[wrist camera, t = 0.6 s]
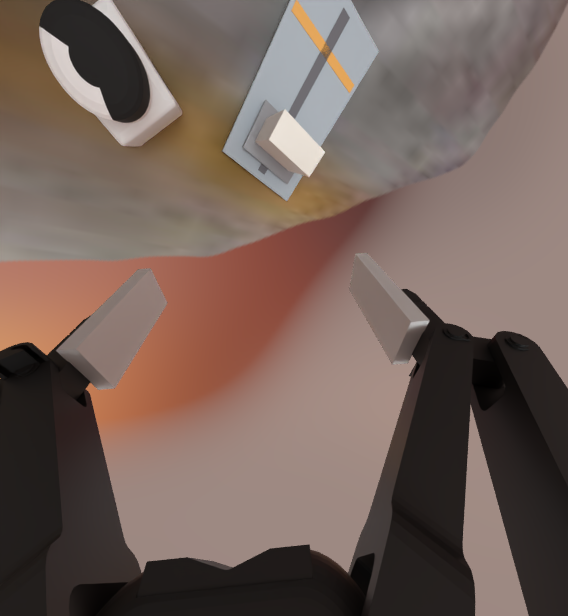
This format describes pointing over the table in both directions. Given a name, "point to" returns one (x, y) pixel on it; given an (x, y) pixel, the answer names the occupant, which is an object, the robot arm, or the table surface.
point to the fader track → (305, 77)
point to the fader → (282, 144)
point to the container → (106, 69)
